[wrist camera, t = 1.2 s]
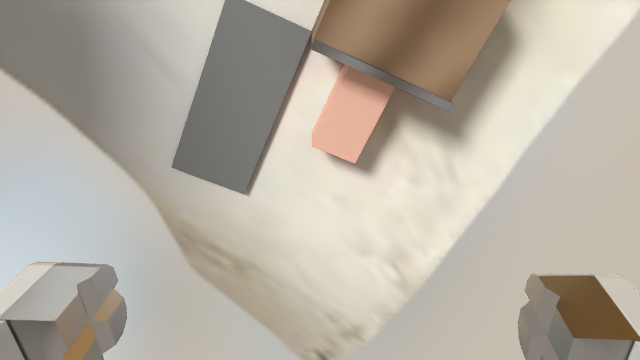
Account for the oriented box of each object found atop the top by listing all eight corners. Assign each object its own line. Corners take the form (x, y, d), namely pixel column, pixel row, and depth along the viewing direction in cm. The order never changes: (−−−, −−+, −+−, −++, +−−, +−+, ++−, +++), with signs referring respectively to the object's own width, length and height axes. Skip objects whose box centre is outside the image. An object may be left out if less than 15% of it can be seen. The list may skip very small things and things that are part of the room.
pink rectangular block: (311, 131, 39) (311, 146, 36) (384, -25, 34) (391, -23, 31) (351, 147, 40) (354, 163, 37) (428, -2, 34) (440, 2, 31)
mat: (173, 164, 40) (171, 167, 40) (228, -7, 34) (227, -7, 33) (245, 190, 42) (244, 194, 41) (311, 31, 35) (311, 32, 35)
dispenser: (310, 33, 35) (310, 48, 29) (361, -88, 31) (372, -98, 26) (428, 87, 37) (449, 111, 32) (488, -20, 34) (525, -16, 28)
